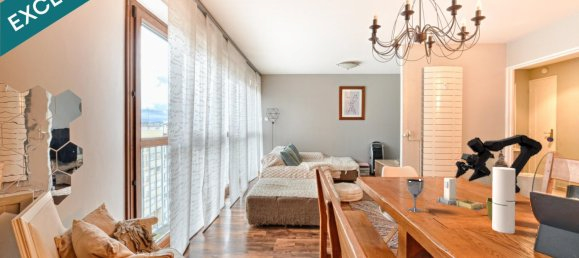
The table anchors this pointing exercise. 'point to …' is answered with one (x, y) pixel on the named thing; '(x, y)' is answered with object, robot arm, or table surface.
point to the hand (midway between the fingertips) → (462, 179)
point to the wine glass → (415, 191)
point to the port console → (462, 203)
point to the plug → (450, 188)
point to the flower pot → (489, 207)
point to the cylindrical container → (503, 200)
